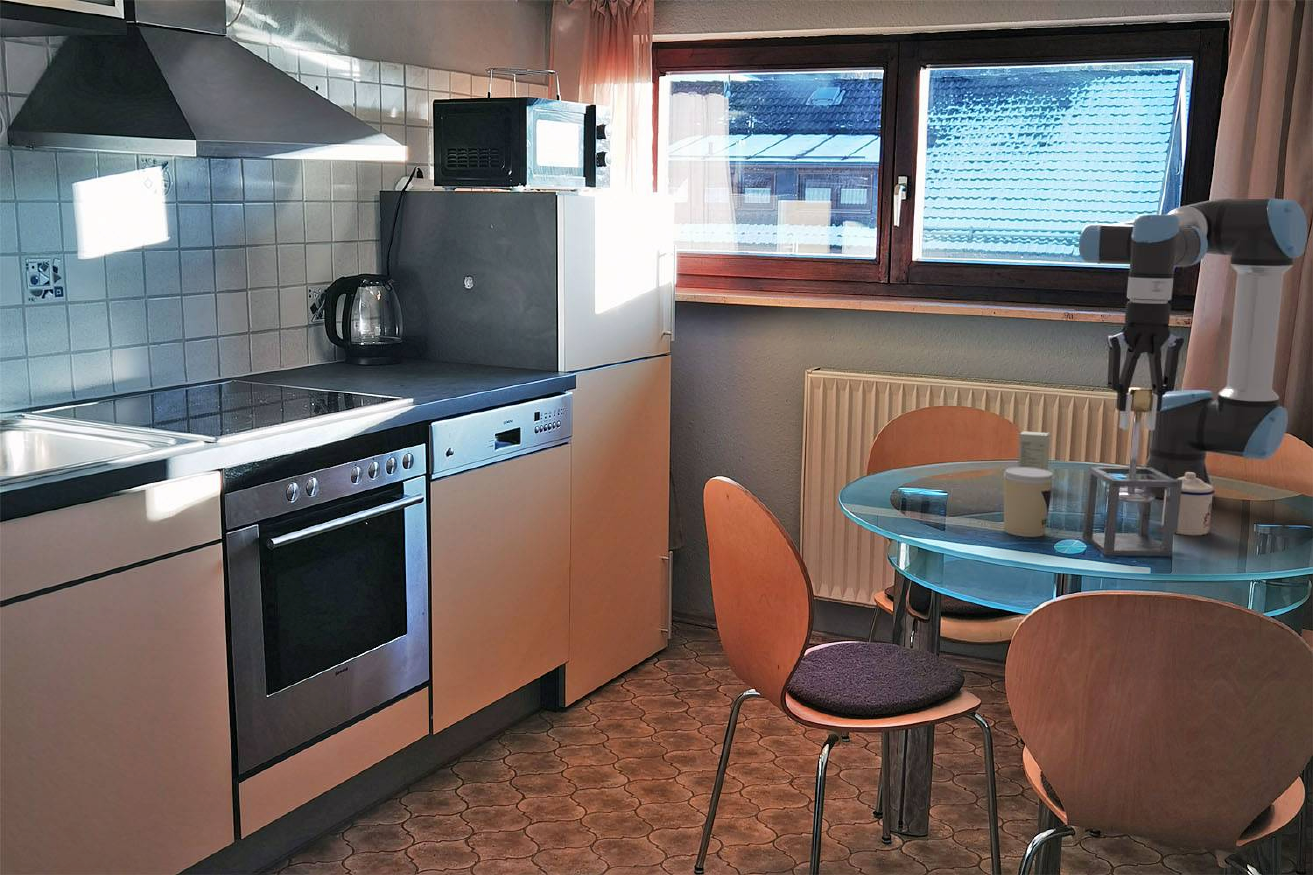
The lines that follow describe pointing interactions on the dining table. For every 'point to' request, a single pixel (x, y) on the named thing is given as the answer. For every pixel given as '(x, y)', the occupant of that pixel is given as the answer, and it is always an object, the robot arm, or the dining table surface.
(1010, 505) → the cream lidded tub
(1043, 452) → the skincare box
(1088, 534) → the press frame
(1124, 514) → the dining table surface
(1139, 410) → the plunger
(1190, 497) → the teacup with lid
